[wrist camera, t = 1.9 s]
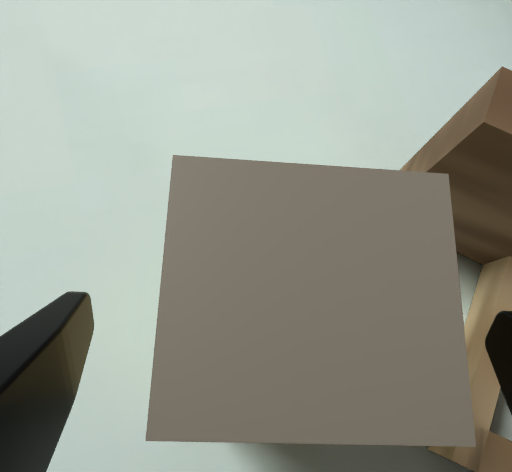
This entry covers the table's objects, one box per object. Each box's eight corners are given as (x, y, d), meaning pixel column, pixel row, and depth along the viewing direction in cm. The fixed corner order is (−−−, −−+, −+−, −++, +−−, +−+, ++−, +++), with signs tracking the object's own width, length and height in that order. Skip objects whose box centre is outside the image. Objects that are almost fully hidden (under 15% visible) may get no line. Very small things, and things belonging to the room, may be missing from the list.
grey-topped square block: (328, 393, 17) (475, 446, 7) (188, 389, 16) (145, 440, 7) (327, 268, 18) (448, 173, 9) (197, 262, 18) (172, 154, 8)
